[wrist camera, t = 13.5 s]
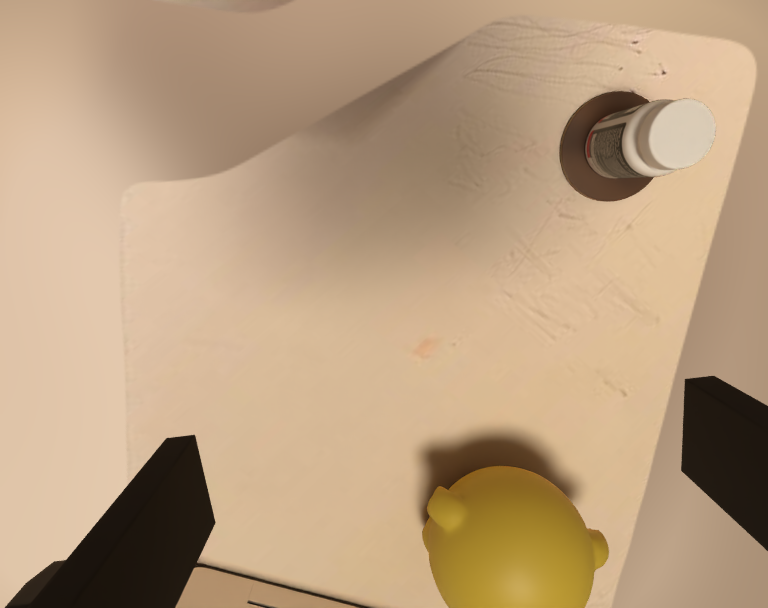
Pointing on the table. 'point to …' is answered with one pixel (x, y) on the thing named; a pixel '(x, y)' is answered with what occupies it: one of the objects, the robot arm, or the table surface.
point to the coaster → (575, 155)
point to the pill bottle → (651, 139)
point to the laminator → (246, 593)
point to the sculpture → (510, 543)
